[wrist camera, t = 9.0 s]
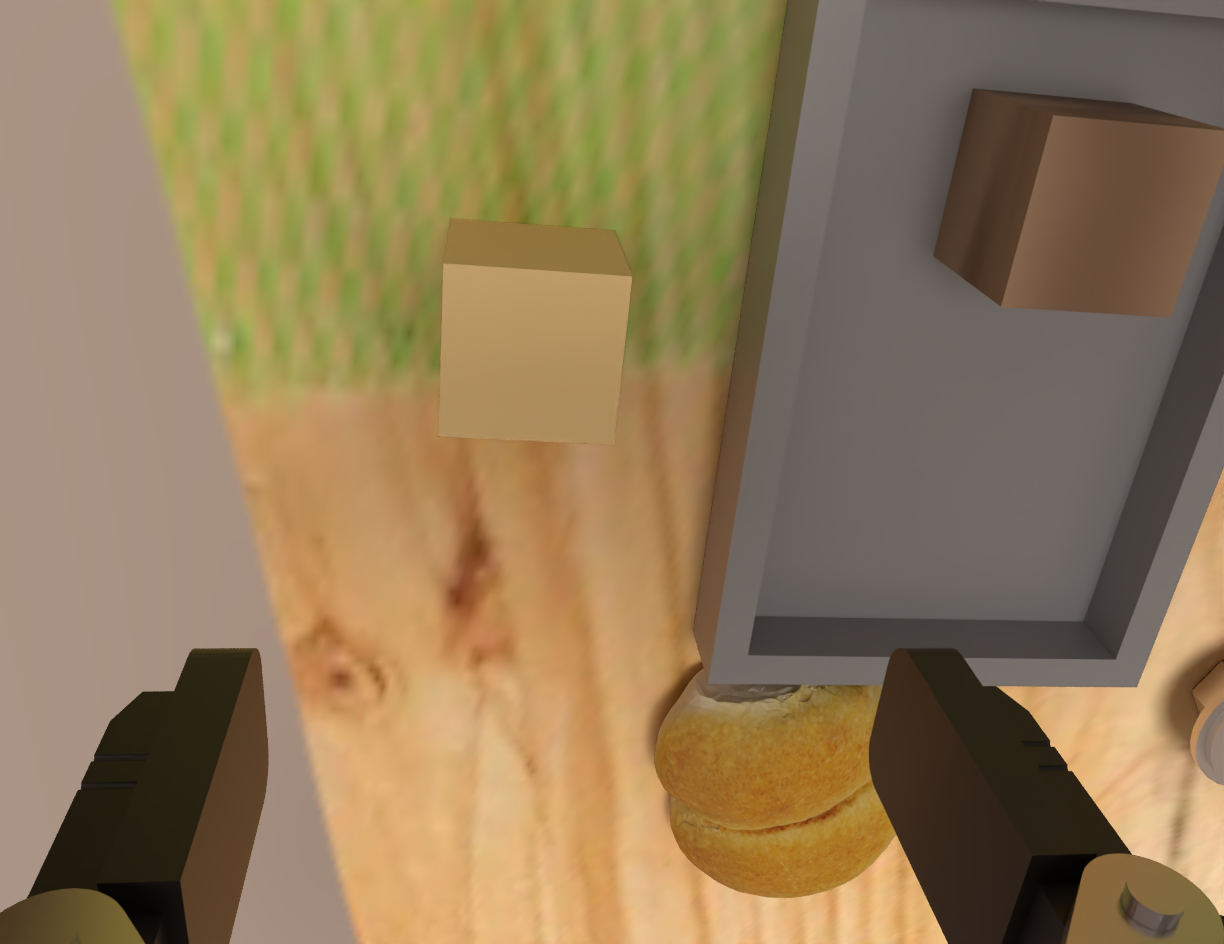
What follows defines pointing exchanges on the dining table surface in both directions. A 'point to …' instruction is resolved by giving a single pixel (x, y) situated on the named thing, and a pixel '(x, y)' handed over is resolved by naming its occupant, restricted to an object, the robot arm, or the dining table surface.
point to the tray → (954, 370)
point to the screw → (1210, 725)
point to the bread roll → (773, 784)
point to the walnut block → (1077, 202)
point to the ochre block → (532, 332)
